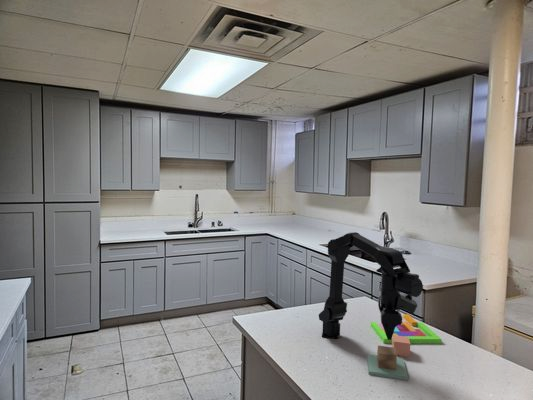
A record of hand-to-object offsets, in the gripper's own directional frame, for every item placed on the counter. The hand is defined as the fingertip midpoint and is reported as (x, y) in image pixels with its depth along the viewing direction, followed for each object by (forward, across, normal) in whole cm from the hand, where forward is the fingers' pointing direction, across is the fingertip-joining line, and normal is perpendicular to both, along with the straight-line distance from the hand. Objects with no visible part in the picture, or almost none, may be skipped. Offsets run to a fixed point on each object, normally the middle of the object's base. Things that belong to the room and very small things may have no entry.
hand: (388, 333), depth 120 cm
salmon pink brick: (+12, +13, -6) cm, 19 cm away
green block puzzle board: (+12, +34, -8) cm, 37 cm away
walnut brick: (+11, 0, 0) cm, 11 cm away
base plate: (+12, 0, 0) cm, 12 cm away
